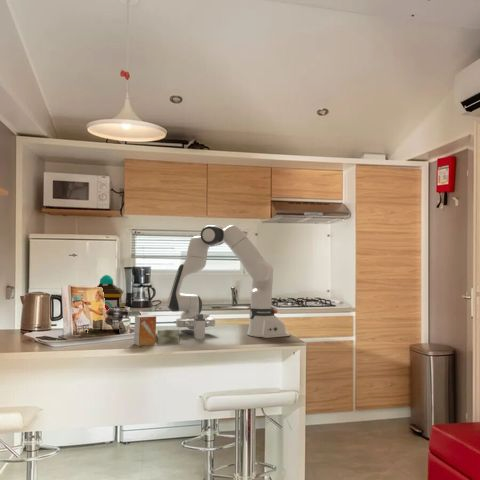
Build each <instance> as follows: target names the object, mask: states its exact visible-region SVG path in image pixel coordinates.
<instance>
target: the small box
mask: <svg viewBox="0 0 480 480" xmlns="http://www.w3.org/2000/svg"><path fill="white" fill-rule="evenodd" d="M156 329H157V316H156V315H153V314H140V315H139V314H138V315H134V332H133V333H134V334H133V344H134V345H136V346H138V347H141V346H155V345H156V341H155V337H156V333H157V330H156Z"/></svg>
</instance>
